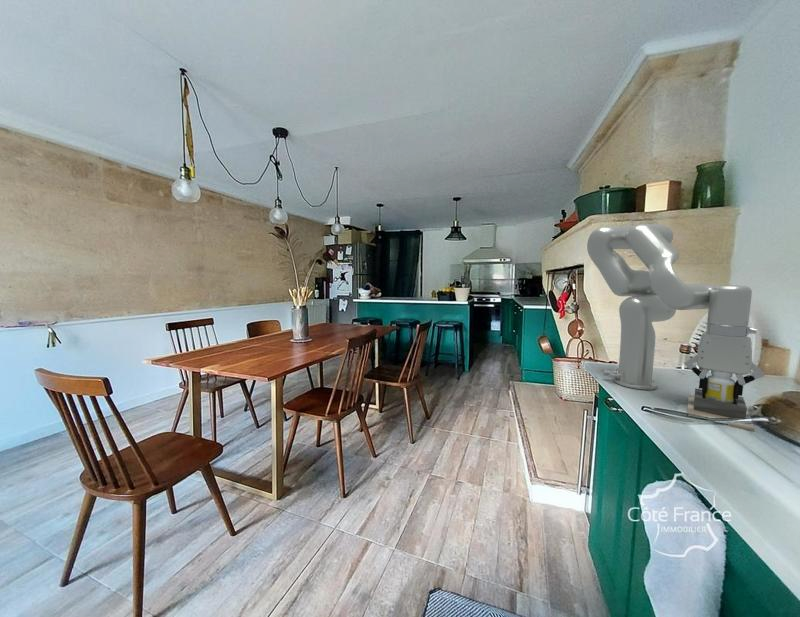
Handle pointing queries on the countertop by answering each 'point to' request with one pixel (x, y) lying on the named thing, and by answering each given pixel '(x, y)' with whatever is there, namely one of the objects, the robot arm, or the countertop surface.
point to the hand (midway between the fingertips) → (719, 393)
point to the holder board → (718, 409)
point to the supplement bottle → (720, 387)
